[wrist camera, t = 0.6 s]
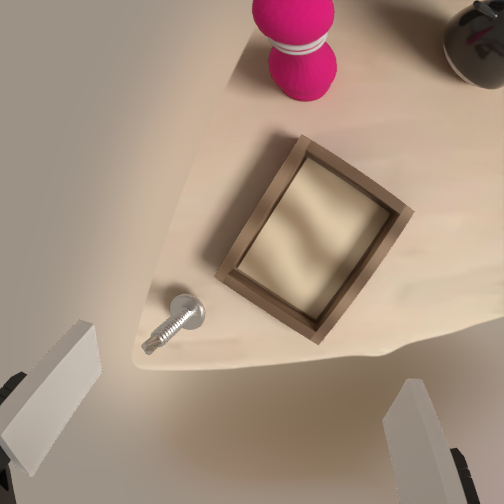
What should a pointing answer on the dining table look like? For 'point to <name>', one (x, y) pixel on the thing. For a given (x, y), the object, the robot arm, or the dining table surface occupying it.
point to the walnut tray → (313, 240)
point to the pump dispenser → (477, 43)
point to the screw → (177, 321)
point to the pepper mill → (298, 45)
